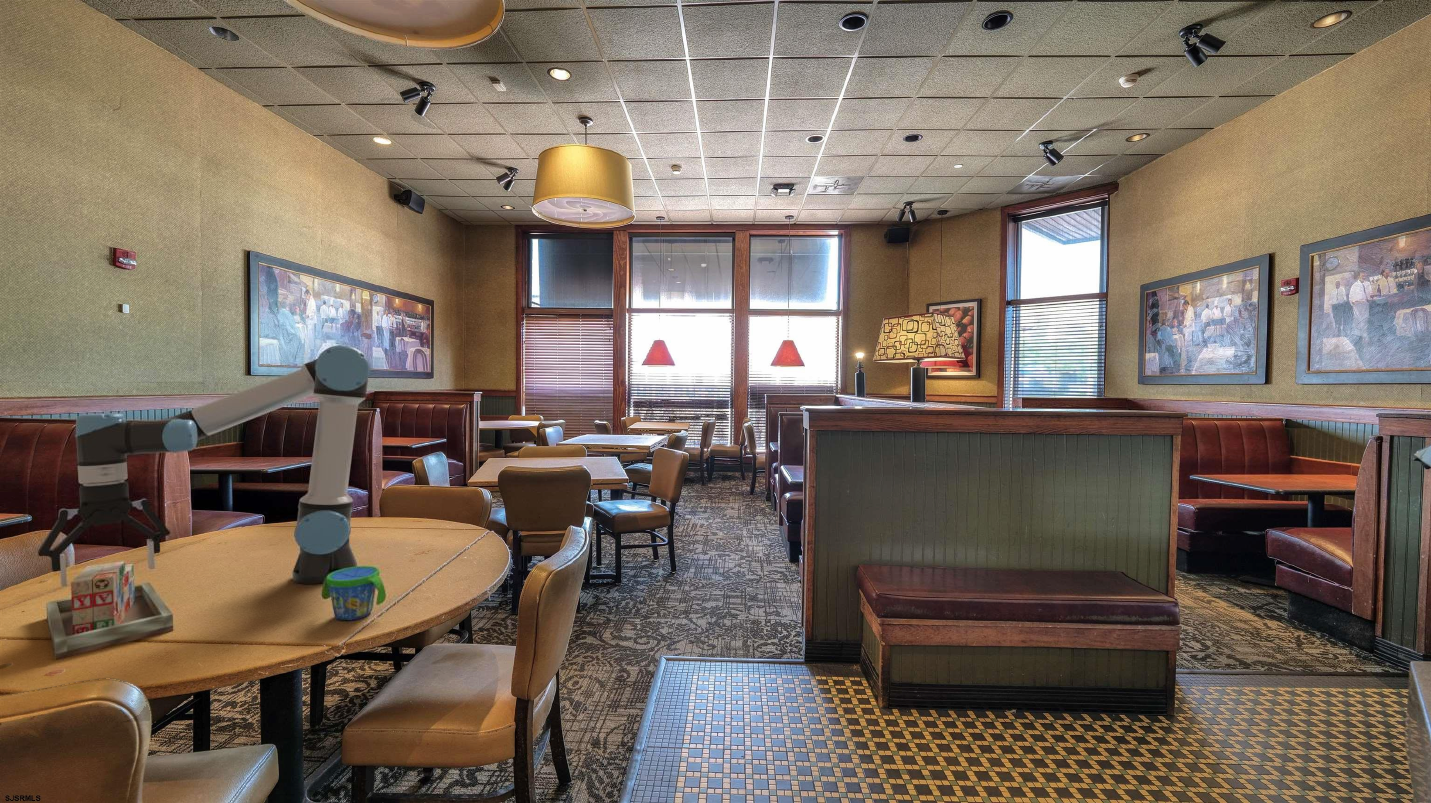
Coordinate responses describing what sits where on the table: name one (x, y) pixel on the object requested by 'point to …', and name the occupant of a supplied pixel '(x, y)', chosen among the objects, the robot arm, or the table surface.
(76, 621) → the stack of blocks
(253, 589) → the table surface
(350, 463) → the robot arm
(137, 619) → the grey rectangular tray
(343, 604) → the snack cup
